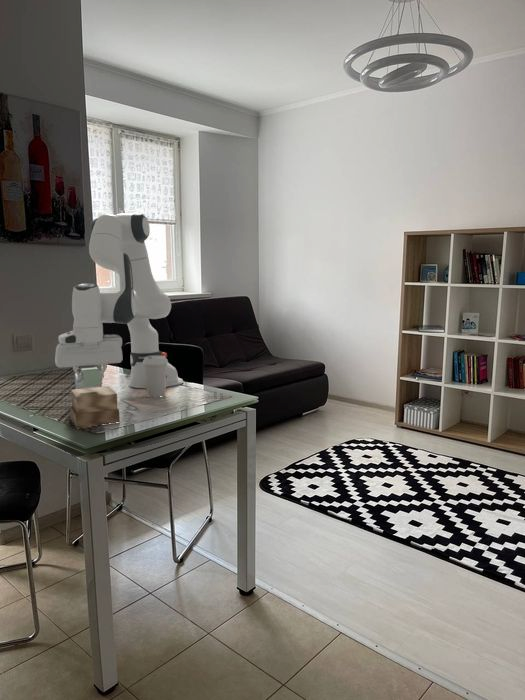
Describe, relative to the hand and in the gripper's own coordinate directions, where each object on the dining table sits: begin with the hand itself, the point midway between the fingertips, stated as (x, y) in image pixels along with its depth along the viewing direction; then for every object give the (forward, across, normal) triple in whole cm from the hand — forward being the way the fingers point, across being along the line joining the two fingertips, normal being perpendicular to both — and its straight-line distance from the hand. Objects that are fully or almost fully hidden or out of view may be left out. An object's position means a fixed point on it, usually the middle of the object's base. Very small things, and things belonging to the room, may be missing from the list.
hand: (90, 378), depth 164 cm
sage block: (+2, 0, 0) cm, 2 cm away
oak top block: (+9, -1, 0) cm, 9 cm away
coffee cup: (+14, -28, -22) cm, 38 cm away
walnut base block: (+14, 0, 0) cm, 14 cm away
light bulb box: (+14, -2, -22) cm, 26 cm away
